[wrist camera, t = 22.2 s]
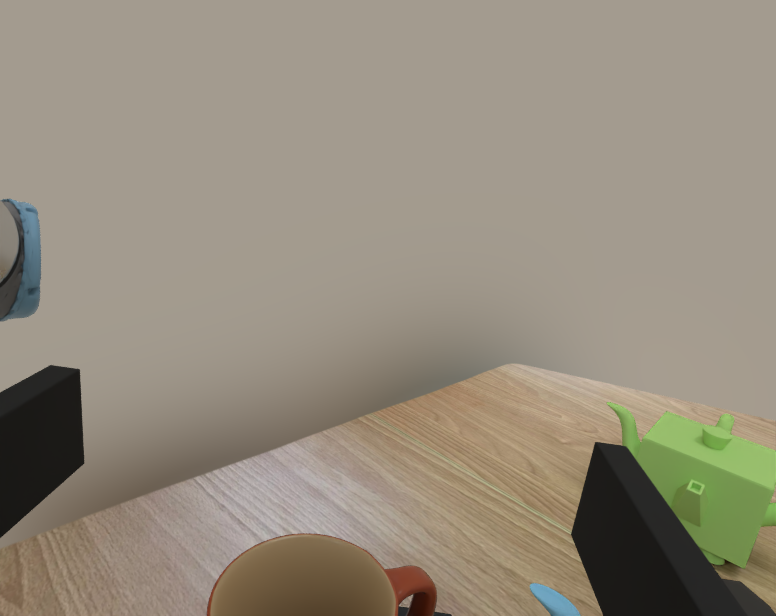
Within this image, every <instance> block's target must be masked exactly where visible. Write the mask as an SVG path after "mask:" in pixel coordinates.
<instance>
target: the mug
mask: <svg viewBox="0 0 776 616" xmlns="http://www.w3.org/2000/svg"><path fill="white" fill-rule="evenodd" d="M412 594H413V596H412V600H411V603H410V606H409V609H408V612H407V614H406V616H433V615H434V612H435V608H436V602H437V590H436V587H435V585H434V583H433V581H432V579H431V578H430V577H429V575H428V574H427V573H426V572H425V571H424V570H423V569H421V568H419V567H417V566H403V567H399V568H393V569H384V568H383V567H382V566H381V564H380V563H379V562H378V561H377V560H376V559H375V558H374V557H373V556H372V555H371V554H370V553H368V552H367V551H366V550H364V549H362V548H360V547H359V546H356V545H354V544H352V543H350V542H347V541H345V540H342V539H339V538H336V537H332V536H327V535H321V534H291V535H285V536H280V537H276V538H273V539H269V540H267V541H264V542H262V543H259V544H257V545H255V546H253V547H252V548H250V549H248V550H247V551H245V552H243V553H242V554H241V555H239V556H238V557H237V558H236V559H234V560H233V561H232V562H231V563H230V564H229V565H228V566H227V567H226V569H225V570H224V571H223V572H222V574H221V575H220V576H219V578H218V580H217V581H216V583H215V585H214V587H213V589H212V592H211V595H210V598H209V602H208V607H207V616H398V605H399V604H400V603H401V602H402V601H403V600H404V599H405V598H406V597H408V596H410V595H412Z"/></svg>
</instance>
